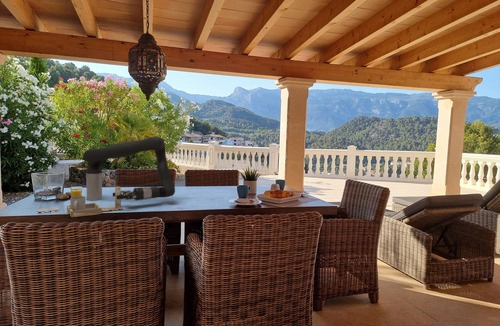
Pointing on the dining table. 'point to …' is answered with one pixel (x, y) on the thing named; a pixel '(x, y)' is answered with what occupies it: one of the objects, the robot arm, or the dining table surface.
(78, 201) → the cup
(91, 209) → the tan wooden stand
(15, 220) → the dining table surface
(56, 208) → the broken strip
